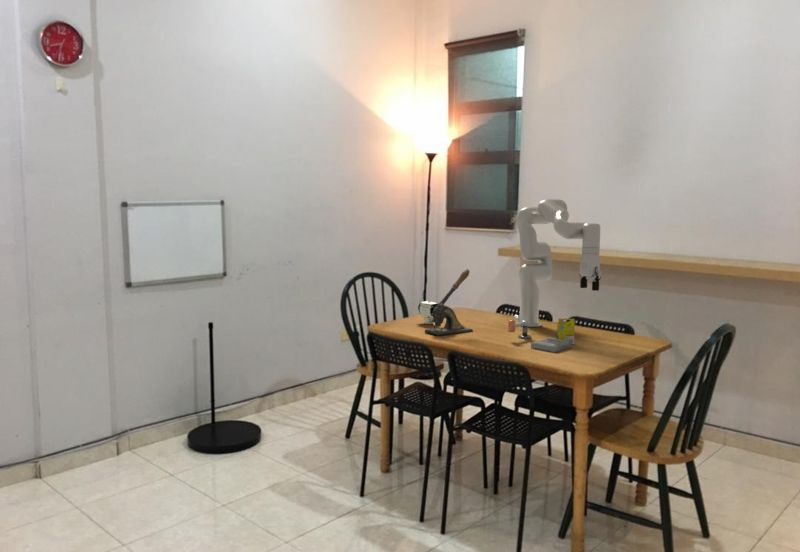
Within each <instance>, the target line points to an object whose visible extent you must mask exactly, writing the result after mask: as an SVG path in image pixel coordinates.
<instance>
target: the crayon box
mask: <svg viewBox="0 0 800 552" xmlns="http://www.w3.org/2000/svg"><path fill="white" fill-rule="evenodd" d="M575 322H576V321H575V318H558V321H557V323H556V326H557V327H556V339H561V340H567V341H569V343H571V345H575V328H576V327H575V325H576V323H575Z"/></svg>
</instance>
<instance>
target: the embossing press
mask: <svg viewBox="0 0 800 552" xmlns="http://www.w3.org/2000/svg"><path fill="white" fill-rule="evenodd" d="M469 275H470V269H467V268H466V269H465V270H464V271H462V272H461V273H460V275H459V277H458V278H457V280H456V281H455V282H454V283H453V284H452V287H450V289H449V291H448V292H447V294H446V295H444V297H443V298H442V299H441V301H440V302H437V303H438V305H437V306H436V307H435V308H434V309H433V316H432V317H433V324H434V325H433V328H426V329H425V330H424V333H425V334H429V335H435V336H444V335H454V334H460V333H461V334H462V333H470V332H474V330H473V329H472V328H470V327H465V326H464V325H463V324H461V322H460V321H459V320H458V318H457V315H456V313H455V311H454V309H452V308H451V307H449V306H447V305H445V303H446V302H447V301H448V300H449V298H450V297H451V296H452V295H453V293H454V292H455V291H456V290H457V289H459V287H460V285H461V284H462V283H463V282H464V281H465V280H466V279H467V278H468V277H469ZM444 319H445V325H444V326H443V327H441V326H442V324H443V323H444ZM436 327H437V328H436Z"/></svg>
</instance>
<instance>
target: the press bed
mask: <svg viewBox="0 0 800 552" xmlns="http://www.w3.org/2000/svg"><path fill="white" fill-rule="evenodd" d="M571 348H572V344H571V343H569V341H567V340H561V339H557V338H555V337H554V338H553V337H547V339H545V338H544V339H542V340H538V341H537V340H534V341H533V342H532V343H530V349H535V350H541V351H545V352H551V353H555V354H556V353H560V352H561V351H566V350H569V349H571Z"/></svg>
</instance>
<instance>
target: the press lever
mask: <svg viewBox="0 0 800 552" xmlns="http://www.w3.org/2000/svg"><path fill="white" fill-rule="evenodd" d="M507 323H508V327H507V329H508V330H507V331H508V333H515V332H516V328H520V327H522V326H530V321H529V320H521V321H520V322H518V323H516V319H509V320H508V322H507Z"/></svg>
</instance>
